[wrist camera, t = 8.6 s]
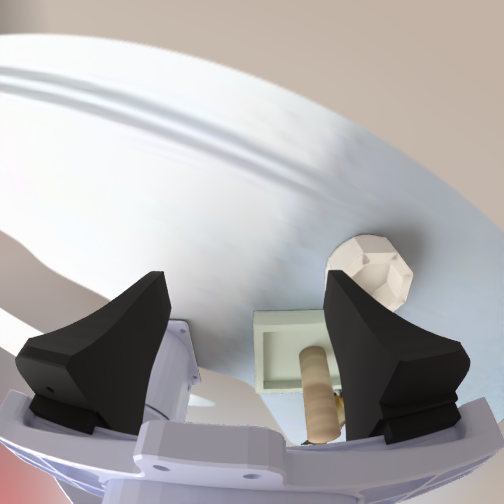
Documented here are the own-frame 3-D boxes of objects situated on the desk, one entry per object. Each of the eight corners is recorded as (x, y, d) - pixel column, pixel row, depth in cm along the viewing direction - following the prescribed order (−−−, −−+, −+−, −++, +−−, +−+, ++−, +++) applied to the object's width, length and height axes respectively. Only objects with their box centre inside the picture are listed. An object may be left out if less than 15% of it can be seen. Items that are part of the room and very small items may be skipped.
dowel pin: (323, 362, 27) (337, 441, 19) (297, 363, 27) (305, 444, 20) (327, 345, 26) (344, 428, 18) (299, 346, 26) (310, 431, 18)
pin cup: (388, 298, 24) (399, 320, 22) (320, 302, 25) (326, 325, 22) (403, 234, 21) (419, 252, 19) (328, 234, 22) (337, 253, 19)
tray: (353, 374, 30) (357, 387, 28) (255, 380, 30) (255, 393, 28) (374, 306, 25) (380, 319, 23) (253, 311, 25) (253, 325, 24)
